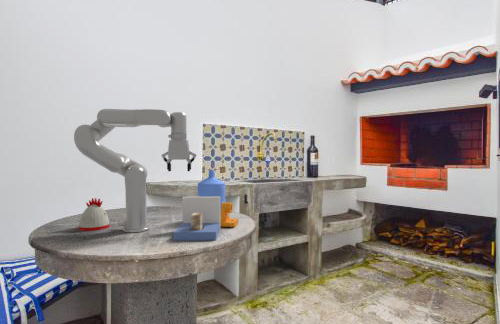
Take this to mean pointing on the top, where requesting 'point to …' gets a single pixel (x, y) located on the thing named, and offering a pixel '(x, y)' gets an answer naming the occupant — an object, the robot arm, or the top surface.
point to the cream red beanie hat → (94, 217)
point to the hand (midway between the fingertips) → (179, 171)
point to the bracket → (227, 215)
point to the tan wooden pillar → (196, 221)
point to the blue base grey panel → (209, 217)
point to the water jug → (212, 188)
